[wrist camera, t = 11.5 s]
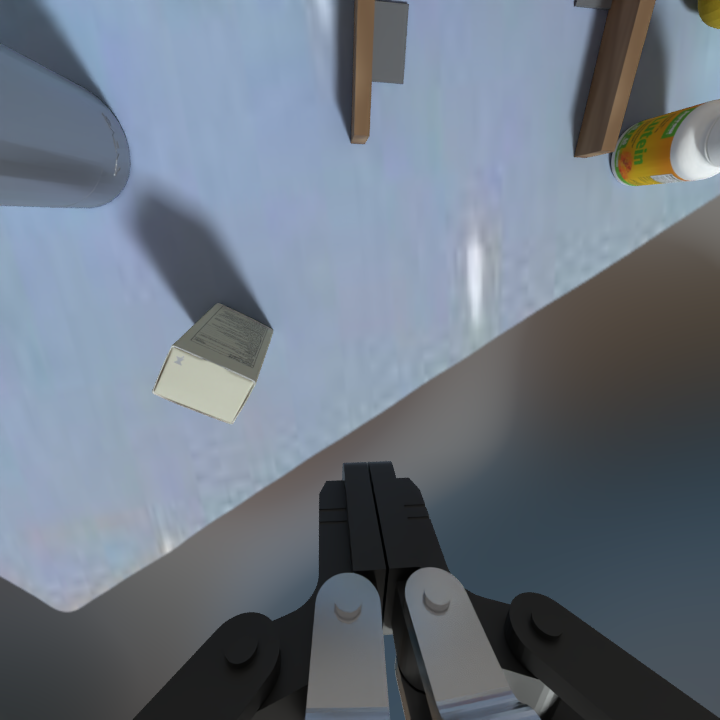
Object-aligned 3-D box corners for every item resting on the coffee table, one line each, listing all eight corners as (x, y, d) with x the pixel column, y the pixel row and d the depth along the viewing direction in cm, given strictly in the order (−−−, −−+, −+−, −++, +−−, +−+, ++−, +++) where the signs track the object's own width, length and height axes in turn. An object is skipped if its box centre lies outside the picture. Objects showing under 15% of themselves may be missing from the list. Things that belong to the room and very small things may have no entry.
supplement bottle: (624, 114, 32) (742, 75, 23) (675, 128, 33) (807, 95, 24) (599, 180, 34) (698, 168, 25) (647, 191, 35) (760, 183, 26)
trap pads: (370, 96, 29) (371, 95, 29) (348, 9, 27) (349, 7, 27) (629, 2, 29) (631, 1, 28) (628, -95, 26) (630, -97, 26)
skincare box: (201, 337, 36) (144, 392, 25) (217, 300, 35) (166, 341, 23) (259, 364, 38) (231, 428, 26) (277, 330, 36) (256, 382, 25)
